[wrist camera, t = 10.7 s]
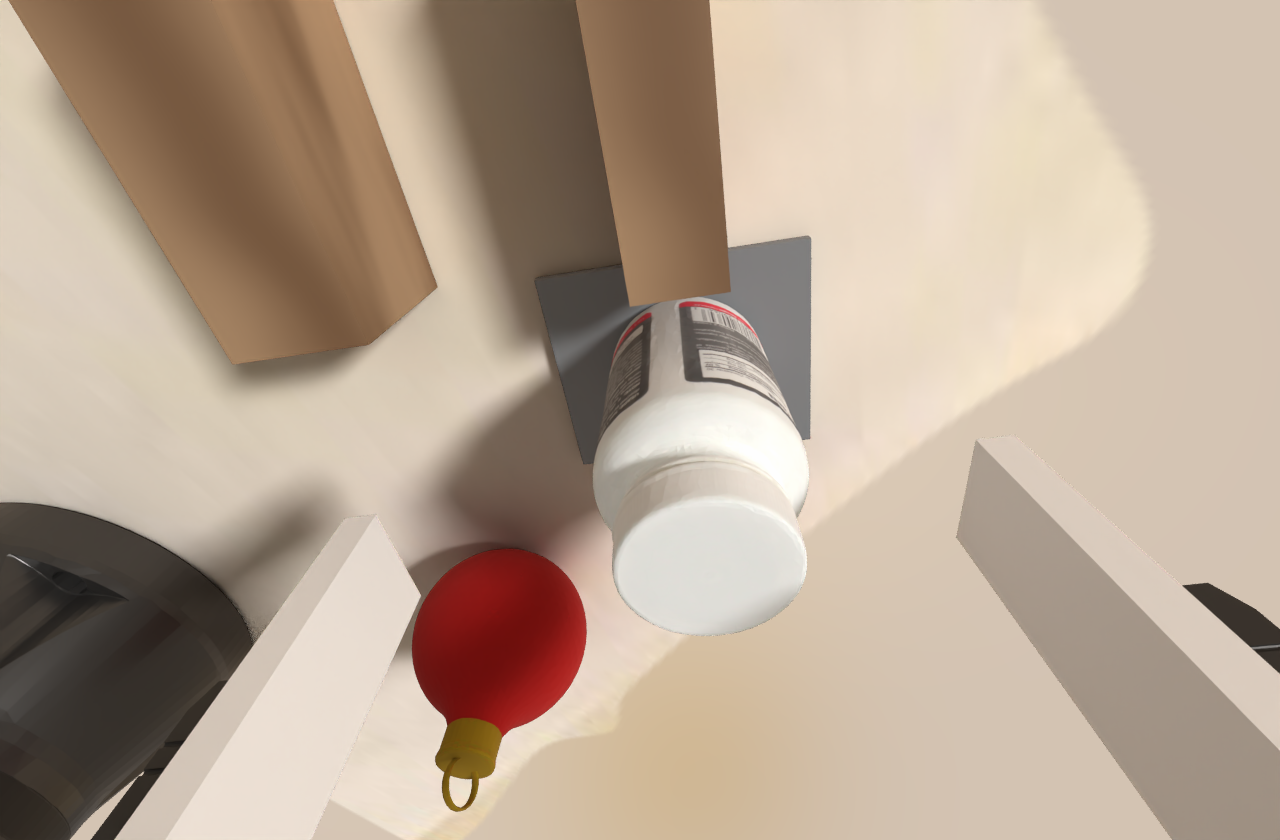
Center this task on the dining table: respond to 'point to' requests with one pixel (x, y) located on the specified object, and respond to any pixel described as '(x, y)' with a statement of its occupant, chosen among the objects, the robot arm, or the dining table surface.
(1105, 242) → the dining table surface
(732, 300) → the pad
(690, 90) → the block
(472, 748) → the christmas ornament
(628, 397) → the pill bottle
